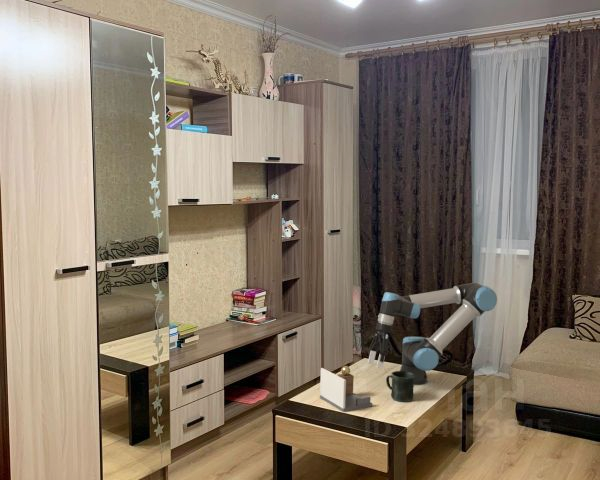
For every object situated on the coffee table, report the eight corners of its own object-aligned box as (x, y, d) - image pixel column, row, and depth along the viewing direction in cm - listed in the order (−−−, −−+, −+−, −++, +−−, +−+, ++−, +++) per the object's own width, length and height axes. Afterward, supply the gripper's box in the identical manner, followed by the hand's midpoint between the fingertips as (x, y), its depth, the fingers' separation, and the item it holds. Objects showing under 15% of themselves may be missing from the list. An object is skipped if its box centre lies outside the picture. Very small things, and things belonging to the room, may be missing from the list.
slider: (336, 392, 295) (337, 365, 293) (347, 390, 298) (348, 363, 296) (342, 395, 290) (343, 368, 289) (353, 394, 293) (353, 366, 292)
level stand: (320, 398, 292) (320, 368, 291) (348, 393, 300) (348, 364, 299) (343, 411, 275) (344, 380, 273) (372, 406, 282) (373, 375, 281)
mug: (406, 404, 286) (407, 379, 285) (380, 397, 295) (380, 372, 294) (418, 398, 294) (419, 374, 293) (392, 391, 304) (393, 368, 303)
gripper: (369, 319, 313) (360, 360, 311) (386, 324, 289) (375, 368, 287) (383, 323, 315) (373, 363, 313) (400, 327, 290) (390, 371, 288)
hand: (374, 366), depth 300 cm, fingers open, 13 cm apart
